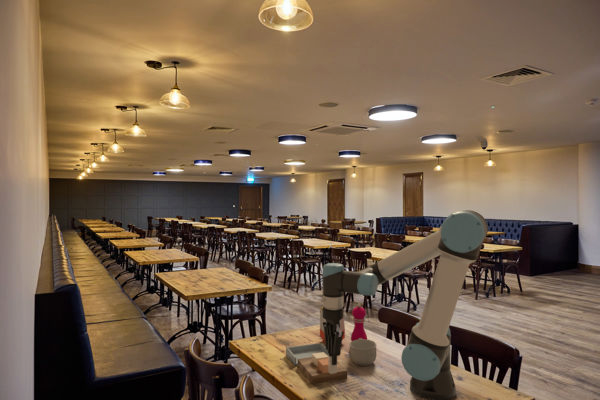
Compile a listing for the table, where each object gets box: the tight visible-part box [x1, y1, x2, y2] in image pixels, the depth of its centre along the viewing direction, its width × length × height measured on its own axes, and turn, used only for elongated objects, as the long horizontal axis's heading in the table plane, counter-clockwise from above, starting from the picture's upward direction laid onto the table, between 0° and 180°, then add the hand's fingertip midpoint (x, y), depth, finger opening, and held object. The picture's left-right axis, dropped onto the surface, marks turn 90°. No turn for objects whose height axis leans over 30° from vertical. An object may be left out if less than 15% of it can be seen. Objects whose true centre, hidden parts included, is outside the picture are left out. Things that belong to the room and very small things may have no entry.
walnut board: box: [297, 355, 348, 385], centre depth 154 cm, size 16×14×3 cm
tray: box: [285, 342, 329, 367], centre depth 168 cm, size 12×16×4 cm
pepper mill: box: [350, 303, 368, 342], centre depth 178 cm, size 7×7×20 cm
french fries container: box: [319, 305, 346, 343], centre depth 186 cm, size 5×11×18 cm, turn 58°
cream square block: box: [312, 352, 329, 366], centre depth 155 cm, size 5×5×3 cm
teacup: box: [348, 338, 377, 367], centre depth 164 cm, size 14×11×8 cm
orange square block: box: [318, 359, 329, 374], centre depth 149 cm, size 5×5×3 cm
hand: (332, 372), depth 144 cm, fingers closed
